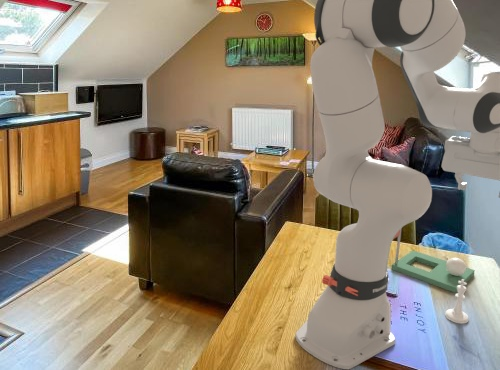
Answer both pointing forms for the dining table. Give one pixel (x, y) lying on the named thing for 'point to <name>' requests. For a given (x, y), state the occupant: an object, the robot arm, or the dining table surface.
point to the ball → (456, 266)
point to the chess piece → (458, 306)
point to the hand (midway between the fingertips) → (481, 193)
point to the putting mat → (435, 276)
